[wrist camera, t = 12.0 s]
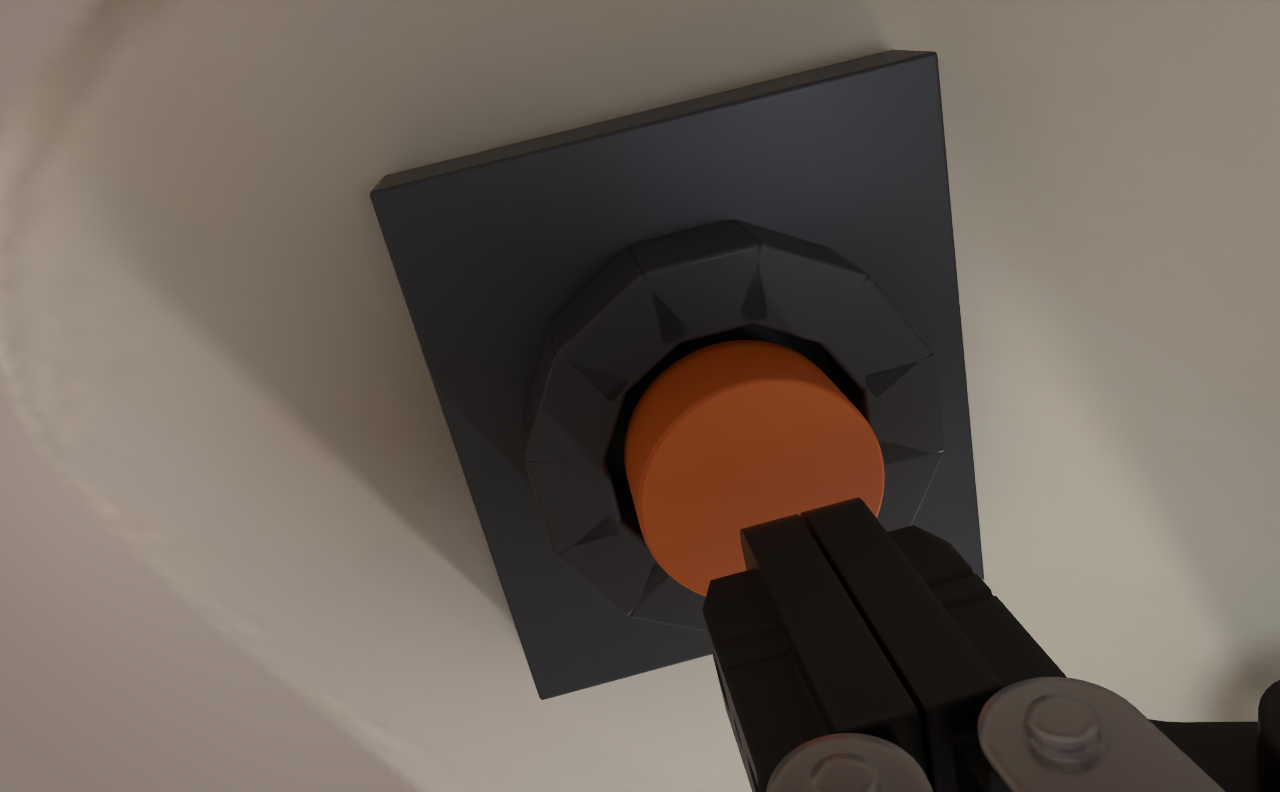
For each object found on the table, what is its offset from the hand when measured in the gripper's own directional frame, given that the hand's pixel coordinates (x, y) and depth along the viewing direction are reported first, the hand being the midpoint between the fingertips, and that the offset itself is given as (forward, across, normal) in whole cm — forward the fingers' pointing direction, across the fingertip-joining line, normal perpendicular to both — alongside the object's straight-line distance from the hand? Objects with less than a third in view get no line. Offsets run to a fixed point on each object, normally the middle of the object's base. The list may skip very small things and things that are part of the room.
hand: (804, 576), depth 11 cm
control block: (+7, 0, 0) cm, 7 cm away
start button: (+4, 0, 0) cm, 4 cm away
